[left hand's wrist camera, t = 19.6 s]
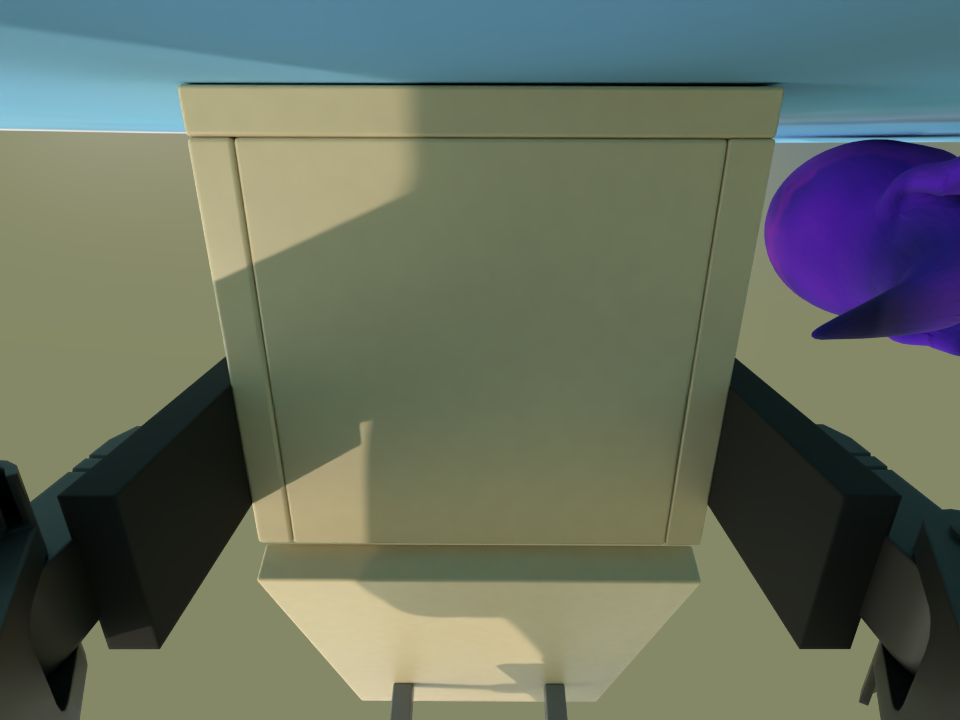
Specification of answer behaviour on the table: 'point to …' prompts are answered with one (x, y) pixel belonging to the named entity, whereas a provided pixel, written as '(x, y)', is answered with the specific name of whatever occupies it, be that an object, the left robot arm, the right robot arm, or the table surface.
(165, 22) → the table surface
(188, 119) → the chest
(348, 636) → the beige boxy piece
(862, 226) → the toy
